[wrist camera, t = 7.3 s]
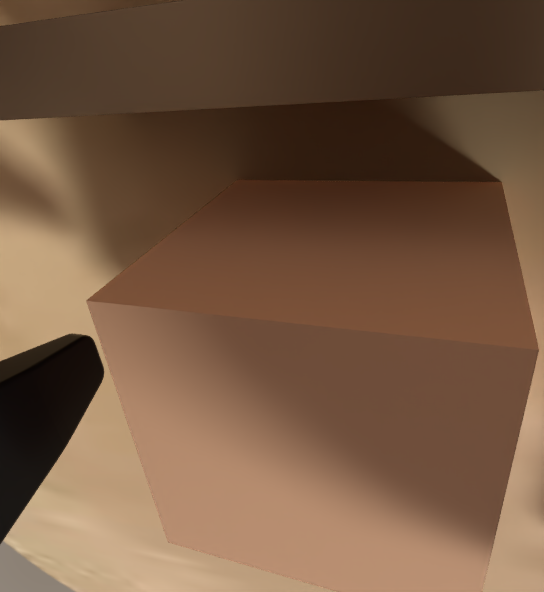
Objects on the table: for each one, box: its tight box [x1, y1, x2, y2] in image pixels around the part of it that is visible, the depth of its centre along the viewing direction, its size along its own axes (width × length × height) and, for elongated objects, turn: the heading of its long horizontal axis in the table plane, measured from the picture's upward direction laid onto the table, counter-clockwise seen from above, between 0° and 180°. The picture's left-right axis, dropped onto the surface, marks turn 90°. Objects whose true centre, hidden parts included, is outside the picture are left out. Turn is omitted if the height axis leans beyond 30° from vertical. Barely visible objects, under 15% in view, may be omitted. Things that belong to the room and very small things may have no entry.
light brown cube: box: [86, 180, 539, 592], centre depth 8 cm, size 5×5×5 cm
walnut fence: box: [0, 0, 544, 120], centre depth 9 cm, size 14×13×3 cm
